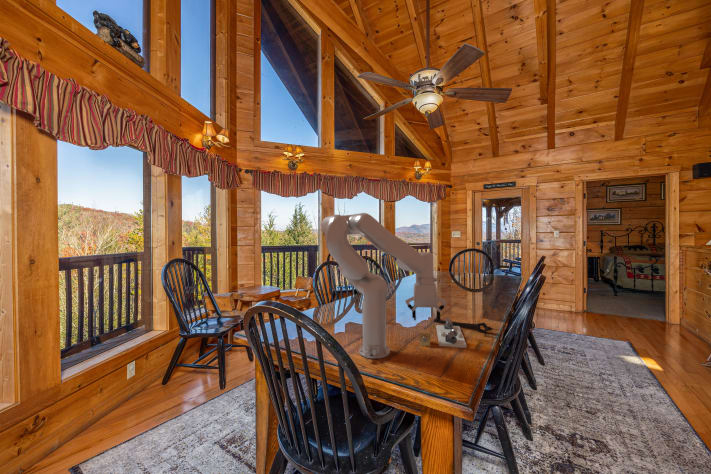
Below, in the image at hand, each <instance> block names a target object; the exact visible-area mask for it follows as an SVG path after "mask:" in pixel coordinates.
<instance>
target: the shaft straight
mask: <svg viewBox="0 0 711 474" xmlns="http://www.w3.org/2000/svg"><path fill="white" fill-rule="evenodd" d="M444 321H446V323H444V324H443V326H444V329H453V324H452V322H453V321H452V322H451V319H450V318H449V317H446V318H445V320H444Z"/></svg>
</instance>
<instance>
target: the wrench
mask: <svg viewBox="0 0 711 474" xmlns="http://www.w3.org/2000/svg"><path fill="white" fill-rule="evenodd" d="M450 321H451V320H450ZM451 322H452V324H453V326H459V327H460V328H462V329H463V328H464V329H469V330H475V331H477V332H479V333H481V334H486V333H487V331H492V330H493V328H492V327H491V326H488V325H487V323H485V322H479V323H469V322H461V321H460V322H459V321H451ZM433 323H438V324H440V325H444V323H446V321H445V320H442V318H441V317H440V319H439V321H437V317H435V318H434V319H433ZM481 327H483V328H484V329H482V328H481Z"/></svg>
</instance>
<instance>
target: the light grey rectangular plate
mask: <svg viewBox="0 0 711 474" xmlns="http://www.w3.org/2000/svg"><path fill="white" fill-rule="evenodd" d="M435 326H436V333H437V339H438V346H439V347H446V348H447V347H451V348H461V349H462V348H463V349H464V348H465V349H467V342H466V340H465V337H464V335H463V332H462V330H461V327H459V326H453V329H455V330H456V331H457V332H458V335H457V336H456V338H457V342H456V343H455V344H452V343H449V342H445V337H446V334H448V333H449V332H450V331H451V330H452V329H444V324H436V325H435Z"/></svg>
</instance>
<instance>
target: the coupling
mask: <svg viewBox="0 0 711 474" xmlns="http://www.w3.org/2000/svg"><path fill="white" fill-rule="evenodd" d="M418 330H419V331H418V332H419V336H418V338H419V339H418V340H419V341H418V342H419V344H418V345H419V346H421V347H431V330H430V329H421V328H420V329H418Z"/></svg>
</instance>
